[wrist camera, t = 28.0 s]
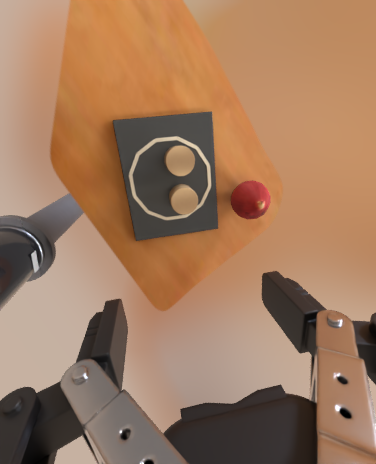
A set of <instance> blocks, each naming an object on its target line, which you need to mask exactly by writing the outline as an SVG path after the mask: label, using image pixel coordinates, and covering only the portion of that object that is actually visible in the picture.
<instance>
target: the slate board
mask: <svg viewBox="0 0 376 464" xmlns="http://www.w3.org/2000/svg"><path fill="white" fill-rule="evenodd" d="M113 125H114V130H115V135H116V140H117V145H118V150H119V156H120V161H121V166H122V171H123V176H124V181H125V186H126V192H127V197H128V202H129V207H130V212H131V217H132V222H133V228H134V233H135V238H136V241H139V240H145V239H152V238H159V237H165V236H172V235H178V234H185V233H192V232H198V231H205V230H212V229H218V215H217V196H216V178H215V159H214V140H213V121H212V112H202V113H191V114H180V115H168V116H157V117H146V118H134V119H123V120H113ZM173 146H185V147H187V148H189V149H190V150H191V151H192V153H193V154H194V157H195V164H194V167H193V169H192V171H191V172H190V173H189V174H187V175H185V176H176V175H174V174H172V173H171V172H170V171H169V170H168V169H167V168H166V166H165V163H164V156H165V153H166V152H167V150H168V149H169V148H171V147H173ZM179 184H185V185H187V186H189V187H190V188H191V189H192V190H193V191H195V193H196V194H197V196H198V205H197V207H196V209H195V210H194V211H193V212H192V213H190V214H186V215H182V214H179V213H177V212H176V211H175V210H174V209H173V208H172V205H171V203H170V200H169V193H170V191H171V189H172V188H173V187H174V186H176V185H179Z"/></svg>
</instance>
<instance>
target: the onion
mask: <svg viewBox="0 0 376 464" xmlns="http://www.w3.org/2000/svg"><path fill="white" fill-rule="evenodd" d="M231 205H232V208H233V210H234V211H235V212H236V213H237V215H238V216H240V217H243V218H245V219H256V218H258V217H260V216H262V215H264V213H265V212H266V210H267V209H268V207H269V205H270V194H269V192H268V190H267V188H266V187H265V186H264V185H263V184H262V183H259V182H256V181H245V182H243V183H241V184H239V185H238V186H237V187H236V188H235V189H234V191H233V193H232V196H231Z"/></svg>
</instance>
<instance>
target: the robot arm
mask: <svg viewBox="0 0 376 464" xmlns="http://www.w3.org/2000/svg"><path fill="white" fill-rule="evenodd" d="M44 258H45V252H44V248H43V245H42V243H41V242H40V240H39V239H38V238H37V237H36V236H35V235H34V234H33V233H31V232H30V231H28V230H26V229H24V228H21V227H18V226H12V225H5V226H0V310H1V309H2V308H3V307H4V306H5V305H6V304H7V303H8V301H9V300H10V299H11V298H12V297H13V296H14V295H15V294H16V292H17V291H18V290H19V289H20V288H21V287H22V286H23V285H24V284H25V283H26V282H27V280H28V279H29V278H30V277H31V276H32V275H33V274H34V273H36V271H37V270H38V269H39V268H40V267H41V266H42V264H43V262H44ZM262 300H263V303H264V305H265V307H266V308H267V310H268V311H269V313H270V314H271V315H272V317H273V318H274V319H275V321H276V322H277V323H278V325H279V326H280V327H281V329H282V330H283V331H284V333H285V334H286V336H287V337H288V338H289V339H290V341H291V342H292V344H293V345H294V346H295V348H296V349H297V350H298V352H299V353H305V352H310V354H311V370H310V371H311V372H310V395H309V399H306V398H304V397H301V396H298V395H293V394H286V393H285V391H284V390H283V388H282V386H281V385H278V386H273V387H269V388H265V389H261V390H257V391H255V392H254V393H252V394H250V395H249V396H247V397H245V398H243V399H242V400H241V401H238V402H237V403H234V404H223V403H203V404H199V405H195V406H191V407H187V408H183V409H181V417H182V419H180V420H178V421H177V422H175V423H174V424H173V425H171V426H170V427H169V428H168V429H167V430H166V431H165V432H164V433H162V432H161V431H160V430H159V429H158V427H157V426H156V425H155V424H154V423H153V422H152V420H151V419H150V418H149V417H148V416H147V414H146V413H145V412H144V411H143V410H142V409H141V407H140V406H139V405H138V404H137V403H136V401H135V400H134V399H133V398H132V397H131V396H130V394H129V393H128V392H127V391H126V390H122V381H123V371H124V362H125V353H126V343H127V334H128V327H127V320H126V316H125V312H124V309H123V304H122V300H121V299H116V300H111V301H106V302H105V306H104V310H103V312H98V313H96V314H95V315H94V316H93V318H92V319H91V320H90V322H89V325H88V328H87V331H86V334H85V337H84V340H83V343H82V346H81V349H80V352H79V355H78V358H77V361H76V363H75V364H74V365H72V366H71V367H70V368H69V369H68V370H67V371H66V372H65V373H64V375H63V377H62V379H61V381H60V382H58V383H56V384H54V385H52V386H50V387H48V388H46V389H44V390H42V391H40V392H38V393H36V392H35V390H34V389H33V388H31V387H23V388H20V389H17V390H15V391H13V392H12V393H10V394H8V395H7V396H5V397H4V398H3V399H2V400H1V401H0V464H54V461H55V457H56V453H57V450H58V449H60V448H61V447H63V446H65V445H67V444H68V443H70V442H72V441H73V440H75V439H77V438H78V437H80V436H82V437H83V438H84V440H85V442H86V444H87V445H88V448H89V450H90V451H91V453H92V455H93V457H94V459H95V461H96V463H97V464H376V417H375V412H374V407H373V402H372V397H371V391H370V386H369V381H368V376H369V378H370V379H371V380H372V381H373V382H374V383H375V384H376V313H374V314H373V315H372V316H371V320H370V322H366V321H351V320H350V319H349V318H348V317H347V316H346V315H344V314H342V313H340V312H337V311H333V310H327V309H325V308H324V307H323V306H322V305H321V304H320V303H319V302H318V301H317V300H315V299H314V298H313V297H312V296H311V295H310V294H308V292H307V291H306V290H304V289H303V288H302V287H301V286H300V285H299V284H298V283H297V282H295V281H293V280H291V279H289V278H284V277H283V276H282V275H281V274H280V273H279V272H277V271H273V272H268V273H264V274H263V276H262ZM367 375H368V376H367ZM121 390H122V391H121Z"/></svg>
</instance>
